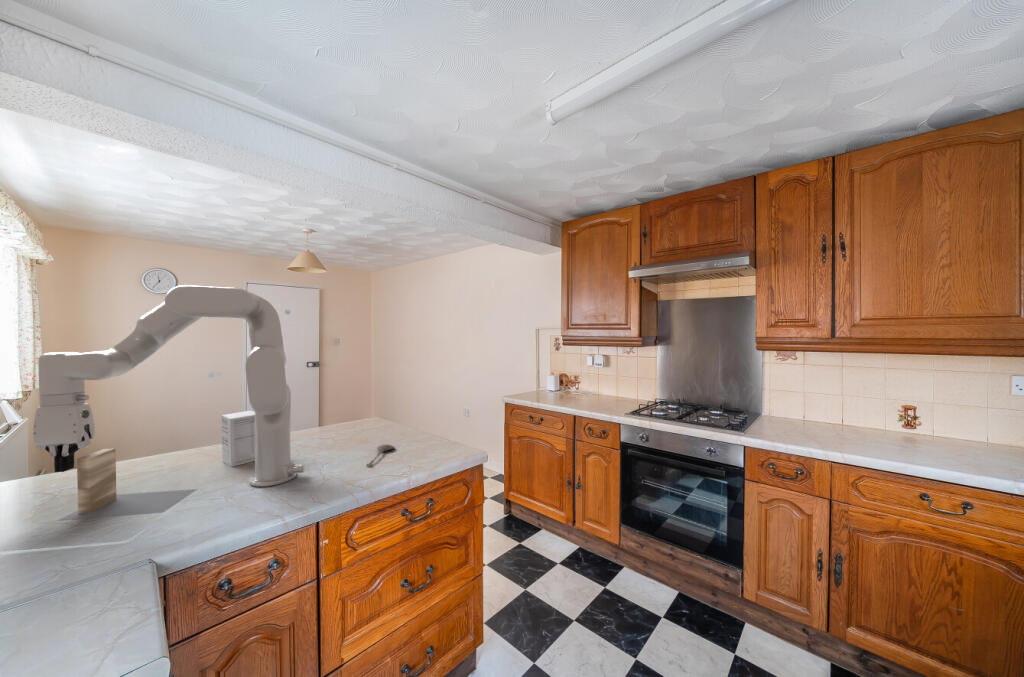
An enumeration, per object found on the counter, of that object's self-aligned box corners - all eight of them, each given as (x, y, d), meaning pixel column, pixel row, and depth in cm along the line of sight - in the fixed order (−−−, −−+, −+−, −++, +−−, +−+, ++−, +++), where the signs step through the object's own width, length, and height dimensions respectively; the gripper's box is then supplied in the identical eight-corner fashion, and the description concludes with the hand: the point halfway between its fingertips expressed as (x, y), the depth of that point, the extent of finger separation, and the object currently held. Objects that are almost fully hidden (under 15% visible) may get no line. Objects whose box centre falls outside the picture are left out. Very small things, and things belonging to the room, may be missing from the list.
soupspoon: (397, 449, 151) (380, 450, 151) (396, 441, 151) (380, 442, 151) (377, 468, 129) (358, 468, 129) (377, 458, 129) (358, 459, 129)
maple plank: (116, 498, 103) (115, 448, 103) (90, 512, 95) (88, 458, 95) (104, 499, 102) (103, 448, 102) (77, 513, 95) (75, 458, 94)
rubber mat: (197, 490, 109) (197, 489, 109) (162, 514, 96) (162, 512, 96) (107, 496, 105) (107, 495, 105) (58, 522, 91) (58, 520, 91)
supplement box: (251, 454, 141) (251, 410, 141) (262, 459, 136) (261, 413, 135) (221, 461, 133) (220, 414, 133) (230, 467, 128) (230, 418, 127)
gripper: (109, 396, 102) (111, 463, 102) (42, 398, 99) (44, 466, 99) (84, 401, 94) (85, 473, 95) (10, 403, 91) (12, 478, 92)
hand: (64, 470), depth 97 cm, fingers closed
